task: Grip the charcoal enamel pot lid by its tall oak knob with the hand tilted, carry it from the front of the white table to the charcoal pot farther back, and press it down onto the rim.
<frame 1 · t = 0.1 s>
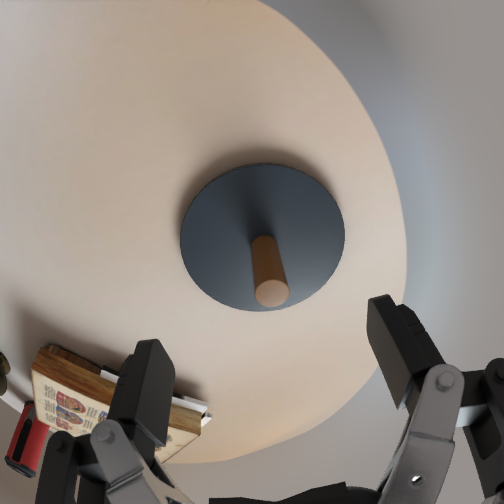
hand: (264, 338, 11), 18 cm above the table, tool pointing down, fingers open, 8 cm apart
speaker: (39, 409, 47), on the table
lid: (263, 244, 28), point 1 cm above the table
book: (118, 399, 43), on the table
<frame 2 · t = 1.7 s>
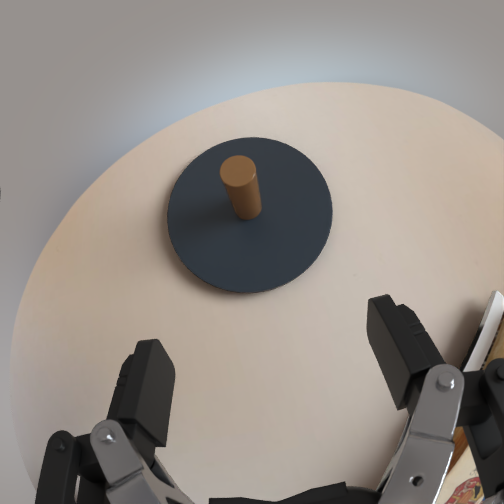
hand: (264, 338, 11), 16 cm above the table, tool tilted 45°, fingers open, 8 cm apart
lid: (248, 209, 28), point 1 cm above the table
book: (492, 430, 20), on the table
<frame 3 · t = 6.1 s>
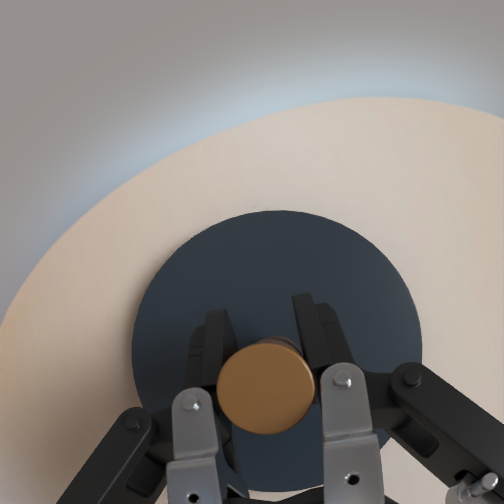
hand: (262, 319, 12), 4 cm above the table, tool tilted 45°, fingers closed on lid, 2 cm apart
lid: (275, 360, 14), point 1 cm above the table, touching gripper
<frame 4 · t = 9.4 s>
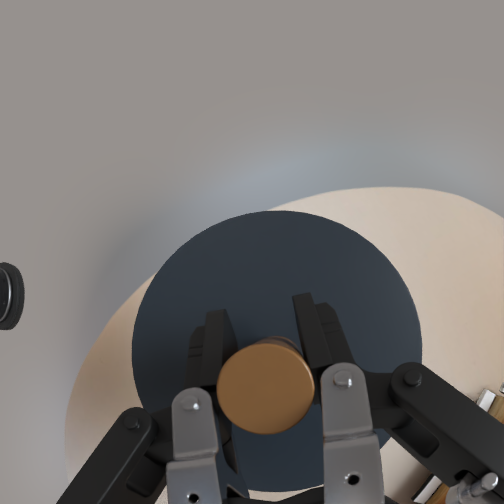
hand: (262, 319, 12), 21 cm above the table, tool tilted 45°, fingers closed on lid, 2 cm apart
lid: (275, 360, 14), point 17 cm above the table, touching gripper
book: (476, 483, 22), on the table
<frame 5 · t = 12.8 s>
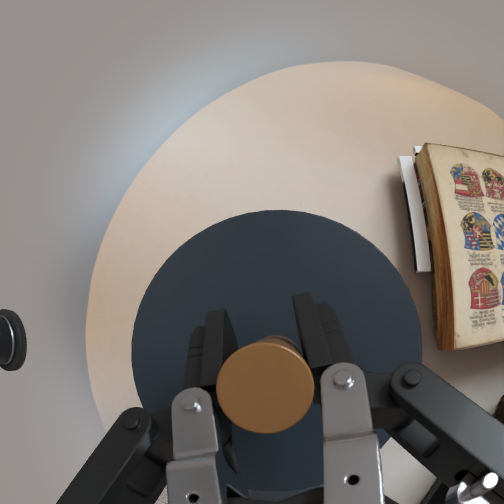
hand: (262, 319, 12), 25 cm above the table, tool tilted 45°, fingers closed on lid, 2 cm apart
cell phone: (446, 489, 25), on the table
lid: (275, 359, 14), point 21 cm above the table, touching gripper
book: (474, 244, 34), on the table
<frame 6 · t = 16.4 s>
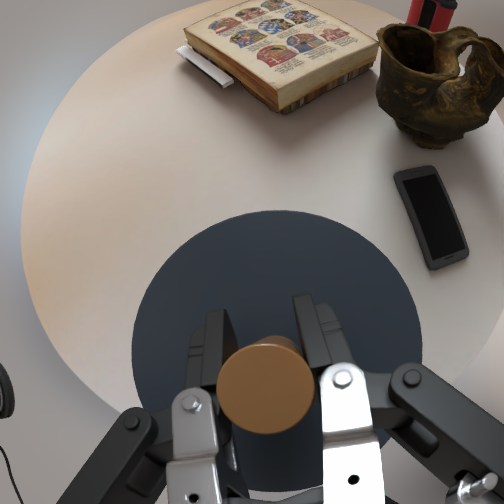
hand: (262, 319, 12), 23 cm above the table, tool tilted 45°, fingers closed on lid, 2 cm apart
pottery vessel: (426, 125, 38), on the table
cell phone: (431, 215, 34), on the table
speaker: (414, 60, 42), on the table
lid: (275, 360, 14), point 19 cm above the table, touching gripper
book: (269, 55, 44), on the table
when the fingers open (13 cm above the table, at t = 19.3 s): lid stays where it is, resting on pot.
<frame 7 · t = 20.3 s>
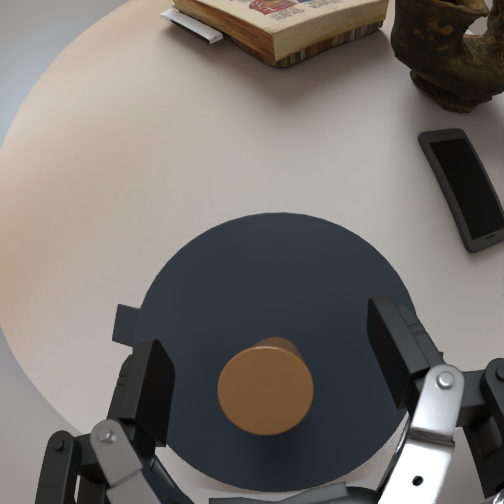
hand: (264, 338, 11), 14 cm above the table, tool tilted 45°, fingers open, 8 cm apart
pot: (279, 347, 24), on the table
pottery vessel: (447, 88, 29), on the table
cell phone: (465, 186, 25), on the table
lid: (275, 361, 14), point 9 cm above the table, touching pot
book: (265, 15, 35), on the table
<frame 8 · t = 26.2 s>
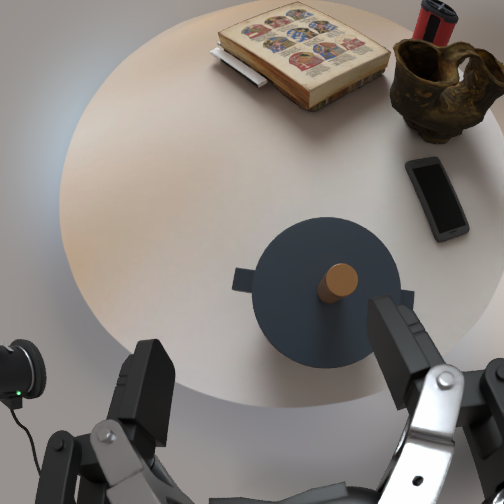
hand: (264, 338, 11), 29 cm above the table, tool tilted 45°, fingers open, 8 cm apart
pot: (318, 299, 39), on the table
pottery vessel: (430, 123, 44), on the table
cell phone: (437, 198, 40), on the table
speaker: (419, 66, 48), on the table
lid: (328, 291, 29), point 9 cm above the table, touching pot
book: (294, 59, 50), on the table
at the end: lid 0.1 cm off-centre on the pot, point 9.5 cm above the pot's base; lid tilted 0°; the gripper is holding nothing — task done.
